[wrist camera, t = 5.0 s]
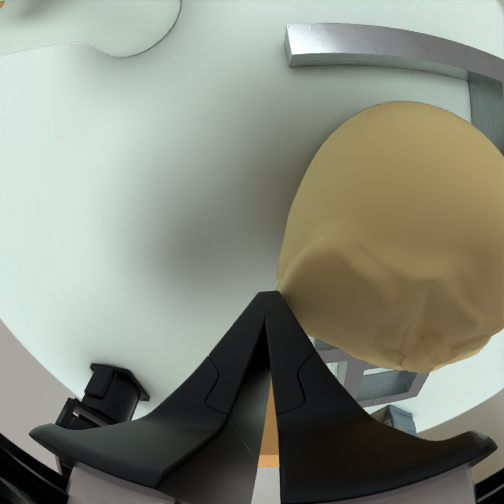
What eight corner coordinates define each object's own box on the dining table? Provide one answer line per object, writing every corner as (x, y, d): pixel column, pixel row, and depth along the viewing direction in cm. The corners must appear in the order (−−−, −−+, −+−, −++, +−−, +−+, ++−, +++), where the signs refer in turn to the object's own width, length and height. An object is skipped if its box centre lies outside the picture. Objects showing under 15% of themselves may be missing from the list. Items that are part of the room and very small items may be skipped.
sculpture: (253, 239, 17) (225, 392, 8) (346, 66, 12) (463, 12, 2) (388, 301, 19) (432, 426, 10) (477, 173, 13) (589, 250, 4)
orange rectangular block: (289, 386, 25) (287, 466, 17) (250, 388, 26) (241, 466, 18) (287, 364, 23) (285, 455, 16) (244, 366, 24) (231, 453, 16)
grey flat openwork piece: (428, 369, 23) (437, 394, 20) (311, 389, 25) (313, 417, 22) (480, 64, 9) (512, 63, 6) (284, 42, 11) (286, 24, 8)
